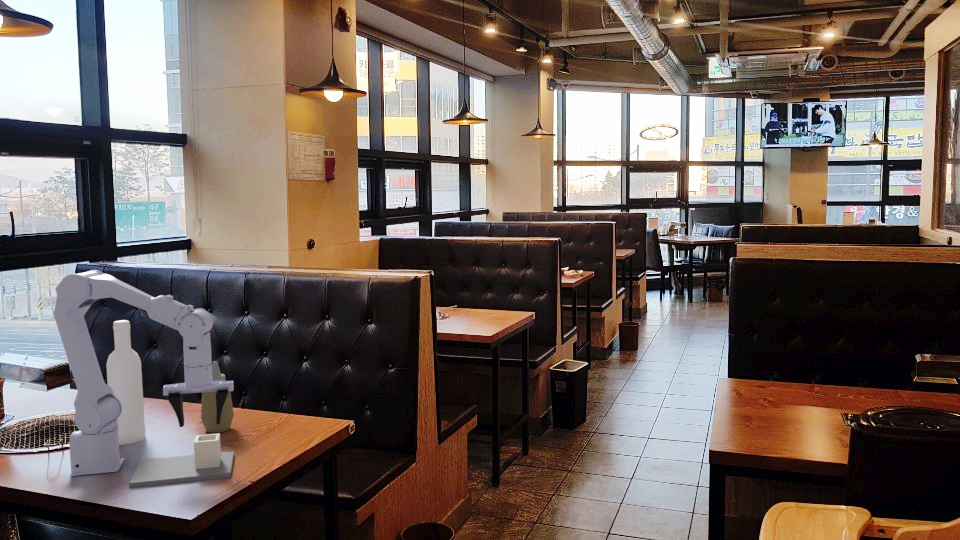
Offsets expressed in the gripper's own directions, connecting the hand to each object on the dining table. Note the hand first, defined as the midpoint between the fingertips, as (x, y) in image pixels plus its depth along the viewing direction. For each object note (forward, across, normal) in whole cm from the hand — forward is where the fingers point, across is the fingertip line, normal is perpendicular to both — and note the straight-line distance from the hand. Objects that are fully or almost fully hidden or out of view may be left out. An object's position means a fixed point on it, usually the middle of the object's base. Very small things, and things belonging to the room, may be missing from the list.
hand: (200, 424), depth 164 cm
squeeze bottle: (+10, +1, +26) cm, 28 cm away
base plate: (+10, -4, -2) cm, 10 cm away
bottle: (+10, -20, +24) cm, 33 cm away
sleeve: (+9, +2, -2) cm, 9 cm away
